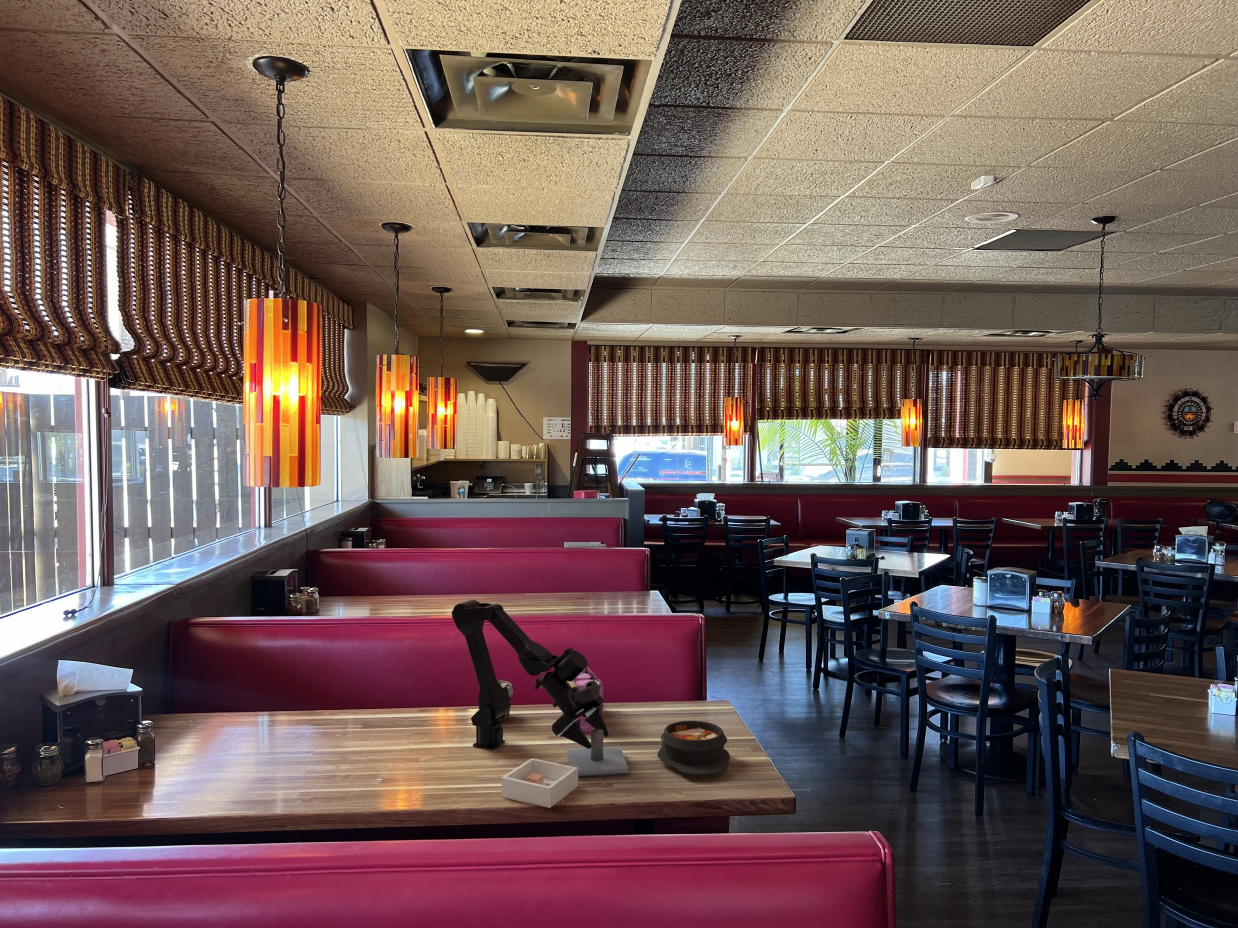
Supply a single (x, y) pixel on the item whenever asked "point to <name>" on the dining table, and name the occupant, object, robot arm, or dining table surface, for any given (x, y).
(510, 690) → the food container
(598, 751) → the lid
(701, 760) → the casserole
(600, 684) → the gum box
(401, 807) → the dining table surface
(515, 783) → the crate
